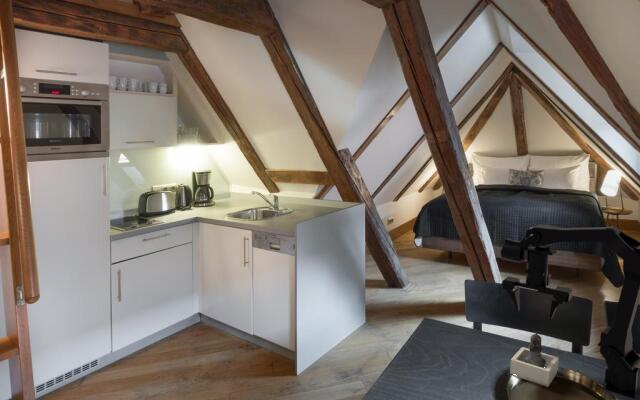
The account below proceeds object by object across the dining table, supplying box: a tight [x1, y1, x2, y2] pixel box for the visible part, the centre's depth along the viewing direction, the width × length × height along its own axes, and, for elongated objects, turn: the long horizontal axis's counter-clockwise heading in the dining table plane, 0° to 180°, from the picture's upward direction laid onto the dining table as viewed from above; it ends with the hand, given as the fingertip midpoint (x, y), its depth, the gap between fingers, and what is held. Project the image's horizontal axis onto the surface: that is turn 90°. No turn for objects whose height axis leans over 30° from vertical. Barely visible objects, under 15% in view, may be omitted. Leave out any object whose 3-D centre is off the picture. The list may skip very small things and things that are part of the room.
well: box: [509, 346, 560, 388], centre depth 124 cm, size 10×10×4 cm
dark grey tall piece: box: [524, 331, 546, 368], centre depth 123 cm, size 6×6×12 cm
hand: (534, 315), depth 132 cm, fingers open, 9 cm apart
